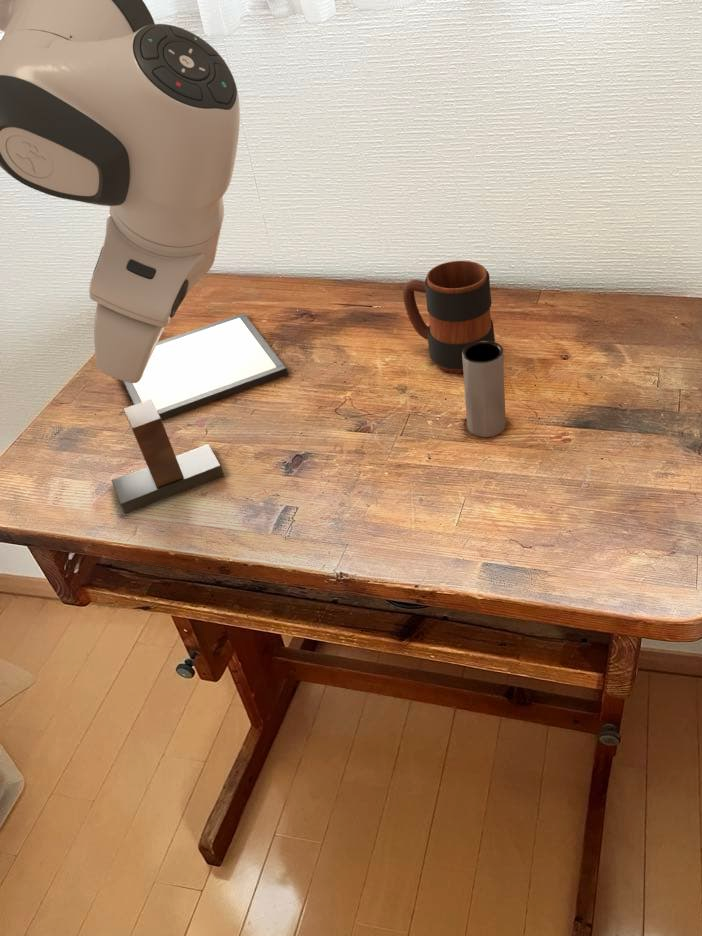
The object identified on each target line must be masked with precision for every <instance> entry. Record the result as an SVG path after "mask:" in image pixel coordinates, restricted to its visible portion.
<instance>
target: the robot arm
mask: <svg viewBox="0 0 702 936" xmlns="http://www.w3.org/2000/svg"><path fill="white" fill-rule="evenodd" d="M0 31H1V32H3V33H2V35H1V37H0V168H1V169H3V171H4V172H5V173H7V174H8V175H9V176H10V177H12V178H13V179H15V180H16V181H17V182H19V183H20V184H23V185H24V186H26V187H28V188H30V189H32V190H35V191H38V192H40V193H43V194H46V195H49V196H51V197H54V198H55V197H56V198H59V199H64V200H69V201H75V202H81V203H85V204H91V205H97V206H103V207H104V206H105V207H109V210H108V213H109V214H108V215H107V217H106V223H105V224H106V225H105V236H104V240H103V245H102V247H101V250H100V253H99V256H98V259H97V262H96V264H95V267H94V270H93V273H92V277H91V280H90V282H89V290H88V291H89V292H88V293H89V294H88V295H89V298H90V300H91V301H93V302H95V303H97V304H96V308H95V314H94V321H93V322H94V323H93V342H94V344H93V346H94V347H93V348H94V361H95V365H96V367H97V368H96V369H98V370H99V371H100V372H101V373H103V374H104V375H107V376H109V377H111V378H113V379H116V380H119V381H122V382H123V381H124V382H128V383H137V382H139V381H140V380H141V378H142V376H143V373H144V371H145V368H146V366H147V364H148V362H149V360H150V358H151V356H152V353H153V351H154V349H155V347H156V345H157V343H158V342H159V341H160V339H161V336H162V334H163V332H164V330H165V328H167V327H168V326H169V324H170V322H171V320H172V319H173V318H174V316H175V314H176V313H177V311H178V309H179V307H180V306H181V304H182V302H183V301H184V300H185V297H186V296H187V295H188V294H189V292H190V291H192V289H193V288H194V287H195V286H196V285H197V284H198V282H199V281H200V279H201V278H203V277H204V276H205V275H207V273H208V272H210V270H211V268H212V267H213V265H214V263H215V260H216V255H217V250H218V247H219V246H218V245H219V241H220V237H221V236H220V235H221V232H222V226H223V222H224V216H225V206H224V199H223V197H224V195H225V194H226V192H227V191H228V189H229V188H230V185H231V181H232V179H233V173H234V169H235V164H236V157H237V152H238V144H239V137H240V136H239V135H240V125H241V124H240V123H241V111H240V109H241V108H240V107H241V106H240V96H239V91H238V87H237V84H236V80H235V78H234V75H233V74H232V71H231V68H229V66H228V64H227V63H226V61H225V59H224V58H223V56H221V55H220V53H219V52H218V51H217V50H216V49H215V48H214V47H213V46H212V45H210V44H209V43H208V41H206V40H204V39H203V38H201V37H200V36H198V35H197V34H195V33H193V32H191V31H189V30H187V29H184V28H182V27H179V26H176V25H172V24H166V23H155V20H154V18H153V16H152V14H151V12H150V10H149V8H148V7H147V5H146V3H145V2H144V0H0Z"/></svg>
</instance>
